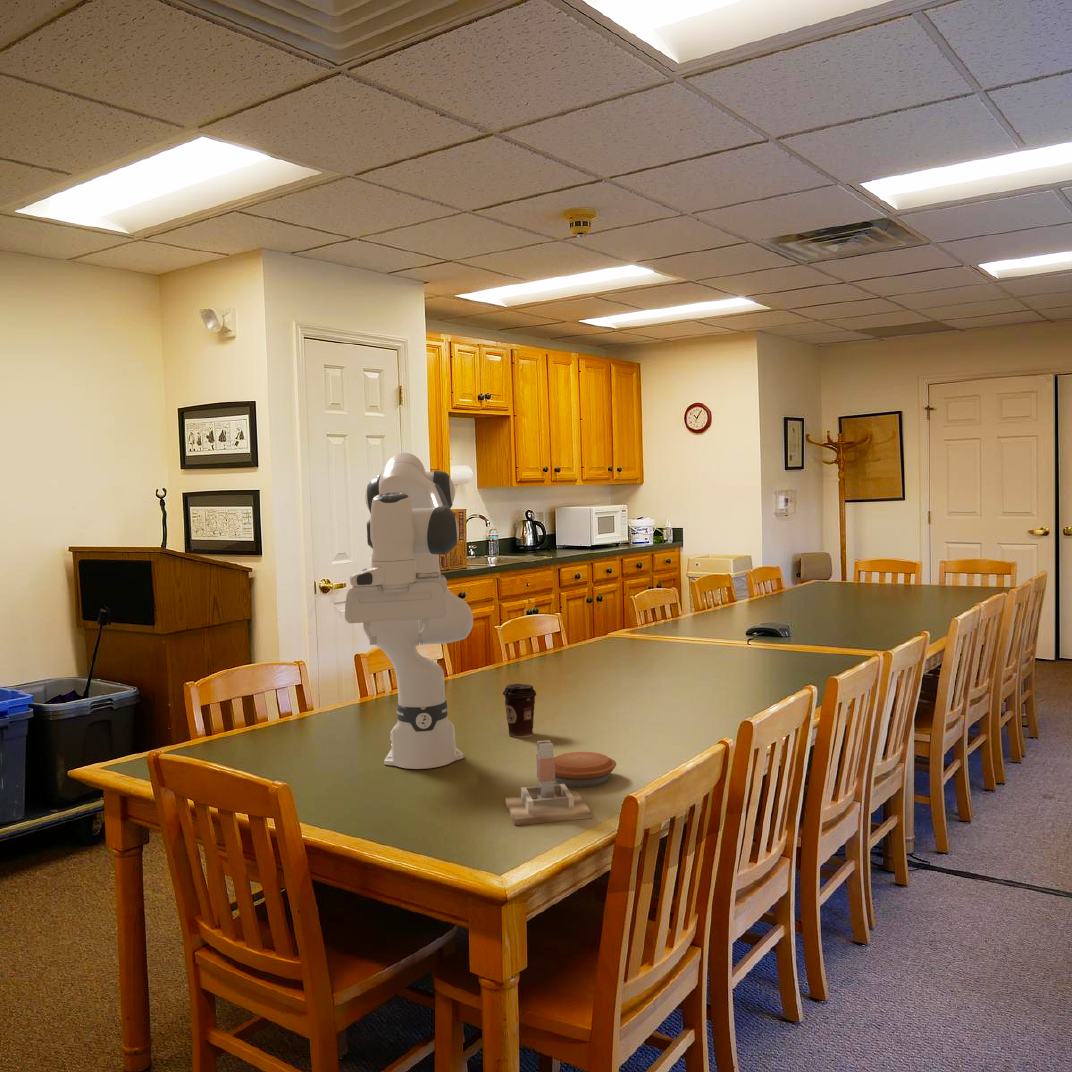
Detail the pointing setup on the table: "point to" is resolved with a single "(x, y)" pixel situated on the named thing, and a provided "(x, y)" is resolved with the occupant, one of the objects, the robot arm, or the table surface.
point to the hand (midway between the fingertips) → (397, 642)
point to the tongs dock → (546, 806)
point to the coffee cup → (520, 709)
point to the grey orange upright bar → (545, 769)
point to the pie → (583, 769)
